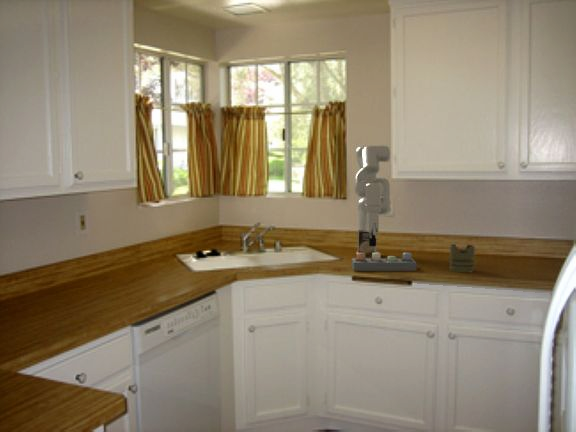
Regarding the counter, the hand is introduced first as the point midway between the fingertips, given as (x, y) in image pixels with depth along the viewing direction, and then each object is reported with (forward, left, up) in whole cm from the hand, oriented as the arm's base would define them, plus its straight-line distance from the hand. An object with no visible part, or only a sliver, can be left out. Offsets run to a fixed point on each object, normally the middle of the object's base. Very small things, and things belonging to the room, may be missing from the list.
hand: (372, 246), depth 304 cm
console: (0, +5, -11) cm, 12 cm away
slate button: (0, +17, -8) cm, 19 cm away
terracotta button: (0, -6, -8) cm, 10 cm away
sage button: (0, +9, -9) cm, 13 cm away
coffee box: (-20, -1, -11) cm, 23 cm away
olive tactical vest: (+5, +42, -11) cm, 44 cm away
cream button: (0, +2, -8) cm, 8 cm away
